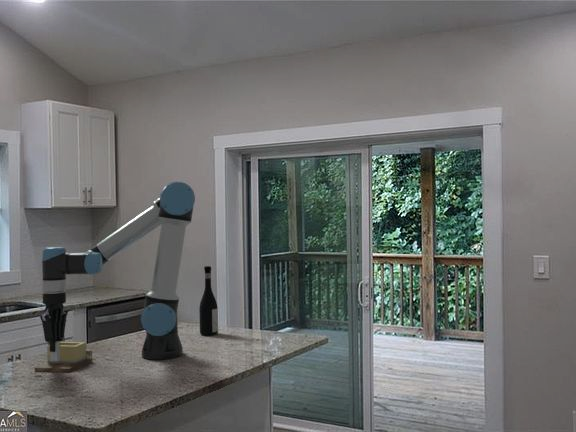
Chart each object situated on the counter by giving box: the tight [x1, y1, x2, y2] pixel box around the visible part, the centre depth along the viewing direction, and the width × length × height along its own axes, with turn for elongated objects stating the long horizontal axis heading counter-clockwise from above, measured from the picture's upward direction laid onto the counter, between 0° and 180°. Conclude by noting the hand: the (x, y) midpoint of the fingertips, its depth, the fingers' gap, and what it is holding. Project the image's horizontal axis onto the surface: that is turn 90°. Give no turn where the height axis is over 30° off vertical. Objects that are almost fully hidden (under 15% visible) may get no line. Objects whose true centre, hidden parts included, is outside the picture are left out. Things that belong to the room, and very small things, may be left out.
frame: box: [46, 341, 87, 364], centre depth 210 cm, size 11×7×6 cm, turn 79°
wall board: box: [34, 349, 93, 373], centre depth 207 cm, size 13×15×5 cm
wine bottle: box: [199, 265, 219, 337], centre depth 259 cm, size 8×8×30 cm
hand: (54, 360), depth 202 cm, fingers closed
